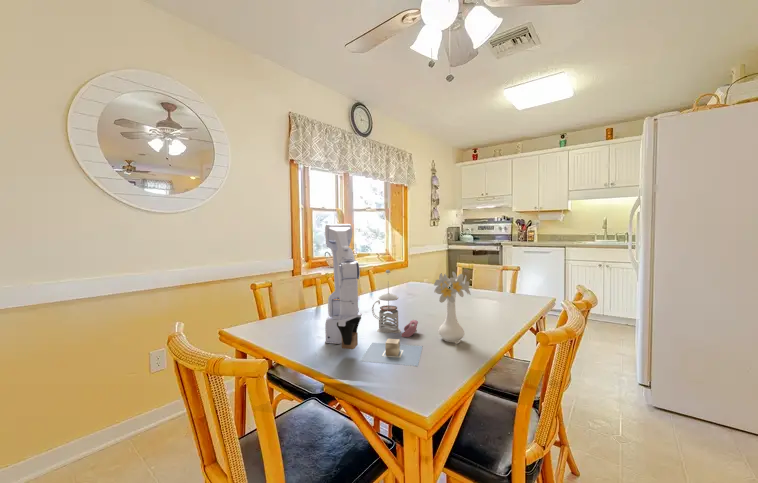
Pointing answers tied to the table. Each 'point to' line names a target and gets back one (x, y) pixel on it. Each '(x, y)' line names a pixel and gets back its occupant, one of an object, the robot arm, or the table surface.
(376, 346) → the board
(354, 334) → the walnut block
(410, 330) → the video game controller
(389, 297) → the french press
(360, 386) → the table surface
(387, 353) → the birch block
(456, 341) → the flower vase
